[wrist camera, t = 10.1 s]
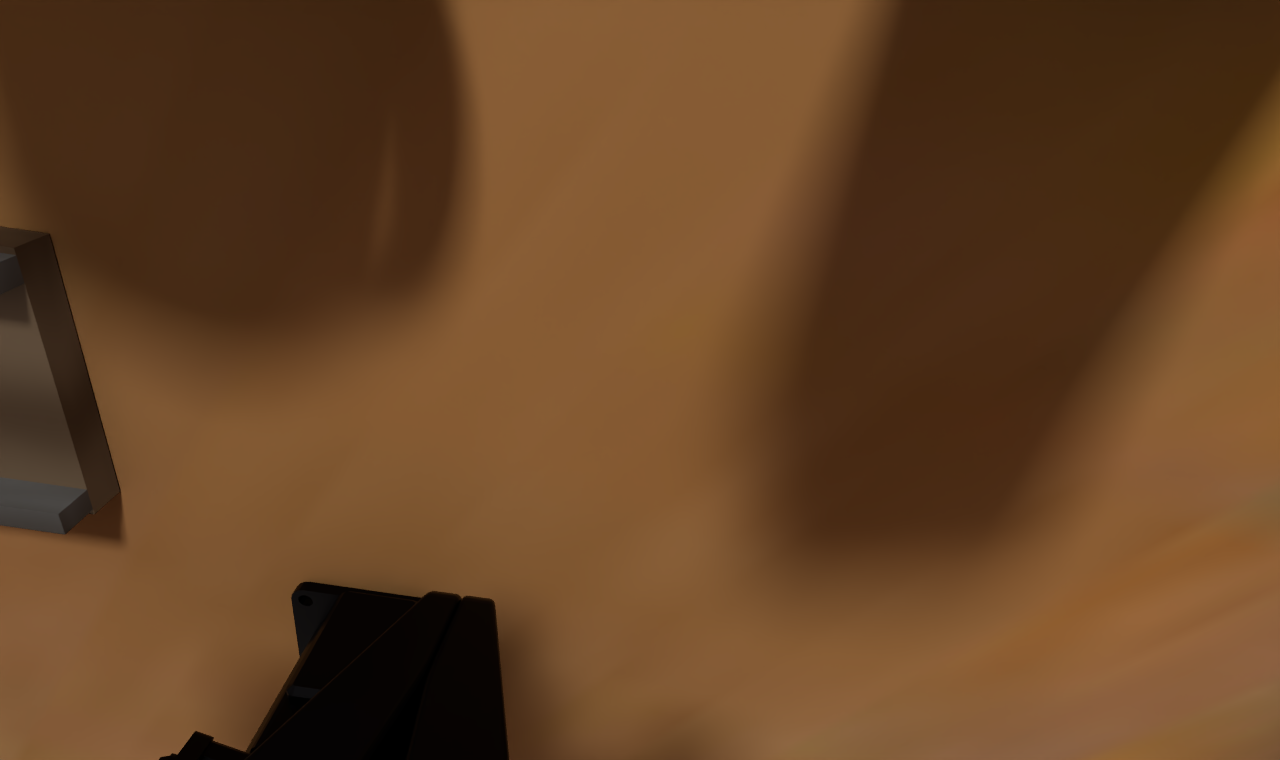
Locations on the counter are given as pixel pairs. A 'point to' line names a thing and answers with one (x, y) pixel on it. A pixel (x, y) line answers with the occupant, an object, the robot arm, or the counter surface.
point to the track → (45, 397)
